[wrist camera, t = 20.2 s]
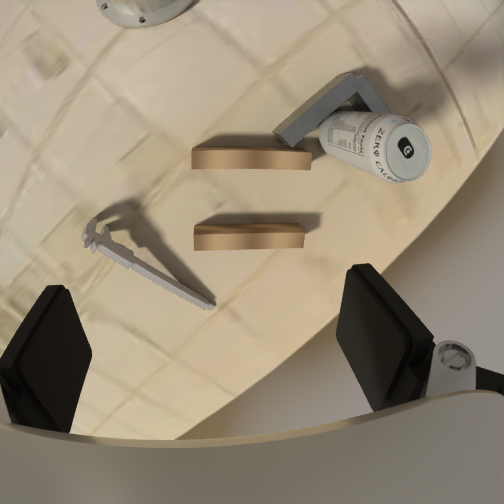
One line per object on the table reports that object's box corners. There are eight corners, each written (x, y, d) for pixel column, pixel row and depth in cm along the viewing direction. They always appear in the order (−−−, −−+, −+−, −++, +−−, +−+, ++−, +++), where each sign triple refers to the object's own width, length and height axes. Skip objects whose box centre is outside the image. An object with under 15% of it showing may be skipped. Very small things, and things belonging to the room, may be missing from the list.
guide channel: (195, 240, 38) (194, 250, 36) (192, 147, 33) (191, 150, 31) (296, 238, 40) (303, 247, 37) (304, 149, 35) (311, 152, 32)
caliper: (91, 221, 36) (73, 240, 30) (95, 214, 35) (78, 233, 30) (210, 308, 43) (212, 337, 38) (215, 303, 43) (217, 332, 38)
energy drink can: (336, 167, 37) (402, 203, 23) (306, 131, 34) (364, 146, 21) (369, 137, 35) (445, 159, 22) (341, 101, 33) (413, 101, 20)
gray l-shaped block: (394, 154, 37) (411, 159, 33) (271, 143, 34) (278, 146, 31) (400, 88, 33) (417, 88, 29) (274, 67, 30) (282, 62, 27)
